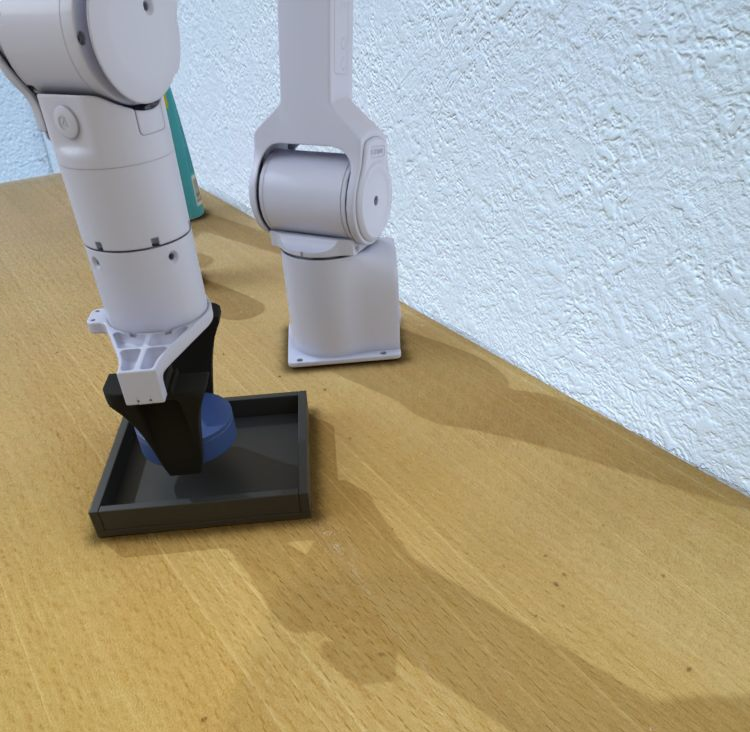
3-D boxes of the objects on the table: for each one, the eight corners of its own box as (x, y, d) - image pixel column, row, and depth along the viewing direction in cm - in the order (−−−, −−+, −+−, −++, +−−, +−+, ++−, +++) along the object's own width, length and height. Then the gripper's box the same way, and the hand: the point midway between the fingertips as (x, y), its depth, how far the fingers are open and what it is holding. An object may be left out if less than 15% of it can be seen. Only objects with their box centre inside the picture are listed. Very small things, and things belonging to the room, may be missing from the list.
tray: (309, 412, 53) (306, 390, 51) (311, 517, 43) (308, 492, 42) (133, 428, 52) (126, 405, 51) (97, 537, 43) (87, 513, 41)
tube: (159, 212, 93) (119, 41, 81) (194, 205, 95) (159, 37, 82) (178, 227, 88) (137, 47, 76) (213, 219, 90) (180, 42, 77)
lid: (132, 471, 44) (123, 448, 42) (149, 418, 48) (143, 395, 47) (232, 463, 44) (227, 440, 43) (240, 410, 48) (235, 388, 47)
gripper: (93, 199, 43) (149, 390, 52) (21, 294, 32) (108, 517, 40) (207, 190, 43) (244, 381, 52) (176, 281, 32) (230, 506, 41)
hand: (192, 440), depth 46 cm, fingers closed on lid, 6 cm apart
